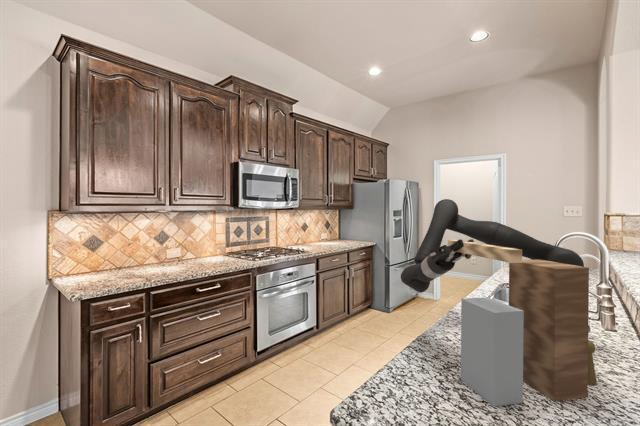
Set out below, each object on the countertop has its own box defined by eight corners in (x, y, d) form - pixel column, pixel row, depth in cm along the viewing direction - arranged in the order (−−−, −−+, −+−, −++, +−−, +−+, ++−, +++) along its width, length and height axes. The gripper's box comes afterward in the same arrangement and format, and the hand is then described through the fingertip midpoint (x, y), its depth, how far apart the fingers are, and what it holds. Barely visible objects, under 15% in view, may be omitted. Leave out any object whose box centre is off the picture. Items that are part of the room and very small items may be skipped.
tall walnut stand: (587, 396, 77) (588, 267, 77) (554, 401, 75) (555, 268, 75) (537, 368, 91) (538, 259, 91) (508, 372, 89) (509, 260, 89)
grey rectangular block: (522, 402, 74) (523, 310, 74) (493, 406, 73) (494, 312, 73) (486, 376, 86) (487, 297, 86) (460, 379, 84) (461, 298, 84)
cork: (602, 386, 82) (603, 344, 82) (576, 384, 83) (576, 342, 83) (587, 375, 88) (588, 336, 88) (563, 372, 89) (563, 334, 89)
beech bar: (522, 262, 72) (522, 249, 72) (510, 263, 71) (511, 249, 71) (456, 249, 95) (456, 239, 95) (447, 249, 95) (447, 239, 95)
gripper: (414, 253, 103) (441, 230, 89) (452, 253, 106) (484, 230, 91) (420, 275, 100) (449, 255, 85) (459, 274, 102) (493, 254, 88)
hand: (467, 242), depth 88 cm, fingers closed on beech bar, 3 cm apart
